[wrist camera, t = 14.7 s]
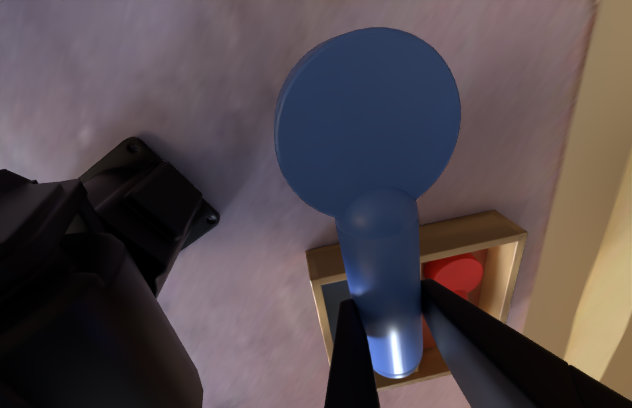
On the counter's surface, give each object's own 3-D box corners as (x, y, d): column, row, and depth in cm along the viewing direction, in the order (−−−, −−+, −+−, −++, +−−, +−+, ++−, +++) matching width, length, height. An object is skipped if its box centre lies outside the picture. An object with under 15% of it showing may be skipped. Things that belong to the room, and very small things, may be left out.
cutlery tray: (473, 333, 27) (495, 363, 24) (331, 367, 26) (338, 401, 23) (495, 209, 20) (528, 232, 17) (305, 250, 19) (310, 280, 17)
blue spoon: (431, 323, 11) (461, 375, 9) (335, 348, 11) (347, 405, 9) (427, 14, 6) (493, -6, 4) (252, 56, 6) (242, 55, 4)
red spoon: (461, 330, 25) (476, 351, 23) (421, 340, 25) (432, 361, 23) (474, 241, 20) (493, 258, 18) (424, 252, 20) (438, 271, 18)
